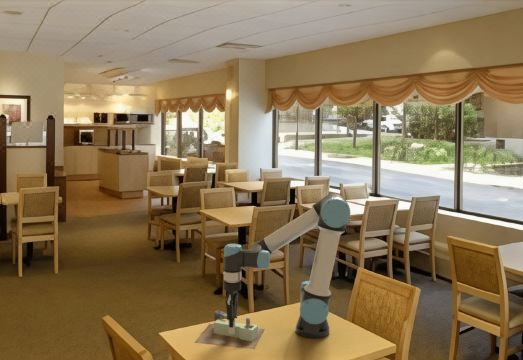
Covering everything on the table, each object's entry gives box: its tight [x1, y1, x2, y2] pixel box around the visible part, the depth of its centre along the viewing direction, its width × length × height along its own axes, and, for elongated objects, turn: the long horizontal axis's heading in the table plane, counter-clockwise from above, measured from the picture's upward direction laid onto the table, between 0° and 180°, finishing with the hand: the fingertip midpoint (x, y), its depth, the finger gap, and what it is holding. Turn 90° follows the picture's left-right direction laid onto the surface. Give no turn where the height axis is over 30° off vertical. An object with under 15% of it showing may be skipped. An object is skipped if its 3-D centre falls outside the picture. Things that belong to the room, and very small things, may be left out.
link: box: [213, 319, 259, 341], centre depth 234 cm, size 19×6×5 cm, turn 68°
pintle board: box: [194, 309, 266, 350], centre depth 234 cm, size 26×22×10 cm
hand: (231, 333), depth 232 cm, fingers closed
